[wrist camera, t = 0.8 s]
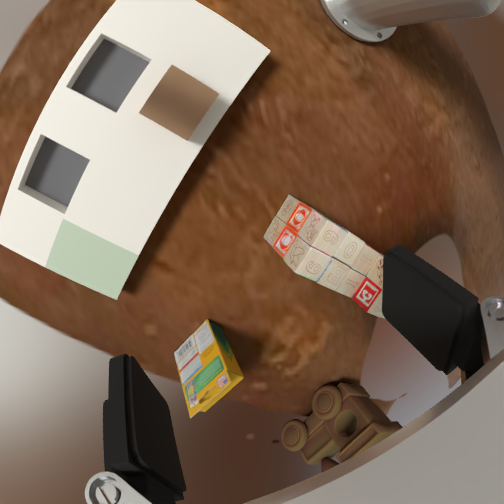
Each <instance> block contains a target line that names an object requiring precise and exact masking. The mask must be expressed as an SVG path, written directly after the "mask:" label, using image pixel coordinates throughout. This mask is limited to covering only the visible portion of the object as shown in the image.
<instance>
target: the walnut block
mask: <svg viewBox="0 0 504 504" xmlns="http://www.w3.org/2000/svg"><path fill="white" fill-rule="evenodd" d="M218 95H219V93H217V92H216V91H214V90H213V89H211V88H210V87H208V86H207V85H205V84H203V83H202V82H200V81H199V80H197V79H195V78H194V77H192V76H191V75H189V74H187V73H186V72H184V71H182V70H181V69H179V68H177V67H176V66H174V65H171V66H170V68H169V69H168V70H167V72H166V73H165V74H164V76H163V77H162V79H161V80H160V82H159V83H158V84H157V86H156V87H155V89H154V90H153V92H152V93H151V95H150V96H149V98H148V99H147V101H146V102H145V104H144V105H143V107H142V109H141V110H140V112H139V114H141V115H143V116H145V117H147V118H148V119H150V120H152V121H154V122H155V123H157V124H159V125H161V126H162V127H164V128H166V129H168V130H169V131H171V132H173V133H174V134H176V135H178V136H180V137H181V138H183V139H185V140H187V141H188V140H189V138H190V136H191V135H192V133H193V132H194V130H195V129H196V127H197V126H198V124H199V123H200V121H201V120H202V118H203V117H204V115H205V114H206V112H207V111H208V110H209V108H210V107H211V105H212V104H213V102H214V101H215V99H216V98H217V97H218Z"/></svg>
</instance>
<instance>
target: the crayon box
mask: <svg viewBox="0 0 504 504" xmlns="http://www.w3.org/2000/svg"><path fill="white" fill-rule="evenodd" d="M174 354H175V359H176V363H177V367H178V371H179V375H180V379H181V383H182V387H183V391H184V395H185V399H186V403H187V407H188V411H189V415H190V418H192V417H193V416H194V415H195V414H196V413H197V412H199V411H203V412H205V411H207V410H208V409H209V408H210V407H211V406H212V405H214V404H215V403H216V402H217V401H218V400H219V399H220V398H222V397H223V396H224V395H225V394H226V393H227V392H228V391H230V390H231V389H232V388H233V387H234V386H235V385H236V384H237V383H239V382H240V381H241V380H242V379H243V378H244V376H243V374H242V372H241V369H240V367H239V365H238V363H237V361H236V359H235V357H234V354H233V352H232V350H231V348H230V346H229V343H228V341H227V339H226V336H225V334H224V331H223V329H222V327H220V326H218V325H217V324H215V323H213V322H212V321H210V320H208V319H206V320H205V321H204V323H203V324H202V325H201V326H200V327H199V328H198V329H197V330H196V331H195V332H194V333H193V334H192V335H191V336H190V337H189V338H188V339H187V340H186V341H185V342H184V343H183V344H182V345H181V347H179V349H178V350H176V351H175V353H174Z"/></svg>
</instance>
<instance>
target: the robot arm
mask: <svg viewBox="0 0 504 504" xmlns="http://www.w3.org/2000/svg"><path fill="white" fill-rule="evenodd" d="M320 1H321V3H322V6H323V8H324V9H325V11H326V13H327V15H328V16H329V17H330V19H331V20H332V21H333V22H334V23H335V24H336V25H337V26H338V27H339V28H340V29H341V30H342V31H344V32H345V33H346V34H348V35H349V36H351V37H353V38H355V39H358V40H360V41H364V42H378V41H383V40H385V39H387V38H389V37H390V36H391V35H392V34H393V33H394V31H395V30H396V28H397V26H403V25H409V24H415V23H422V22H430V21H439V20H449V19H459V18H472V17H473V18H474V17H483V16H486V15H488V14H490V13H492V12H493V11H494V10H495V9H496V8H497V7H498V5H499V4H500V2H501V1H502V0H320ZM478 299H479V298H477V297H476V296H475V295H473V294H472V293H471V292H469V291H468V290H466V289H465V288H464V287H462V286H461V285H459V284H458V283H457V282H455V281H454V280H452V279H451V278H449V277H448V276H447V275H445V274H444V273H442V272H441V271H439V270H438V269H436V268H435V267H433V266H432V265H430V264H429V263H427V262H426V261H424V260H423V259H421V258H420V257H418V256H417V255H415V254H414V253H412V252H411V251H409V250H408V249H406V248H405V247H403V246H401V245H398V246H396V247H394V248H391V249H389V250H387V251H386V253H385V256H384V257H383V290H382V314H383V316H384V317H385V319H386V320H387V321H388V322H389V323H391V324H392V325H393V326H394V327H395V328H396V329H397V330H398V331H399V332H400V333H401V334H402V335H403V336H404V337H405V338H406V339H407V340H408V341H409V342H410V343H411V344H412V345H413V346H414V347H415V348H416V349H417V350H418V351H419V352H420V353H421V354H422V355H423V356H424V357H425V358H426V359H427V360H428V361H429V362H430V363H431V364H432V365H433V366H434V367H435V368H436V369H437V370H439V371H443V372H444V373H445V374H446V375H448V374H449V373H450V372H451V371H453V370H454V369H455V368H456V367H457V366H458V367H459V368H460V369H461V382H462V384H461V385H460V386H459V387H458V388H457V389H455V390H454V391H453V392H452V393H450V394H449V395H448V396H447V397H445V398H444V399H443V400H441V401H440V402H439V403H437V404H436V405H435V406H433V407H432V408H430V409H429V410H428V411H426V412H425V413H424V414H422V415H421V416H420V417H418V418H416V419H415V420H413V421H412V422H410V423H409V424H408V425H406V426H404V427H403V428H401V429H400V430H398V431H397V432H395V433H394V434H392V435H390V436H389V437H387V438H386V439H384V440H382V441H381V442H379V443H377V444H375V445H374V446H372V447H370V448H369V449H367V450H365V451H363V452H361V453H360V454H358V455H356V456H354V457H352V458H350V459H348V460H346V461H345V462H343V463H341V464H339V465H337V466H335V467H333V468H331V469H328V470H326V471H324V472H322V473H320V474H318V475H316V476H313V477H311V478H309V479H307V480H304V481H302V482H300V483H297V484H295V485H293V486H290V487H288V488H285V489H283V490H280V491H277V492H275V493H272V494H269V495H267V496H264V497H261V498H258V499H255V500H252V501H249V502H246V503H243V504H504V298H502V297H499V296H490V297H487V298H485V299H484V300H483V301H482V303H481V305H480V304H479V303H478ZM103 440H104V441H103V442H104V464H105V472H100V473H98V474H96V475H94V476H93V477H92V478H91V479H90V480H89V481H88V483H87V485H86V488H85V498H86V501H87V503H88V504H176V503H175V501H178V500H183V499H184V496H183V493H182V492H184V491H186V485H185V481H184V477H183V473H182V468H181V464H180V460H179V455H178V451H177V446H176V442H175V437H174V432H173V427H172V421H171V416H170V411H169V407H168V404H167V402H166V401H165V399H164V398H163V397H162V395H161V394H160V393H159V391H158V390H157V389H156V387H155V386H154V385H153V383H152V382H151V381H150V379H149V378H148V376H147V375H146V374H145V372H144V371H143V369H142V368H141V367H140V365H139V364H138V362H137V361H136V359H135V358H134V357H133V356H131V357H129V356H128V355H127V354H123V355H120V356H117V357H113V358H111V359H110V361H109V399H108V400H105V402H104V404H103Z"/></svg>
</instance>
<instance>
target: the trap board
mask: <svg viewBox="0 0 504 504" xmlns="http://www.w3.org/2000/svg"><path fill="white" fill-rule="evenodd" d="M269 52H270V50H269V49H268V48H266V47H265V46H263V45H262V44H261V43H259V42H258V41H257V40H255V39H254V38H252V37H251V36H250V35H248V34H247V33H245V32H244V31H242V30H241V29H239V28H238V27H236V26H235V25H233V24H232V23H230V22H229V21H227V20H226V19H224V18H223V17H221V16H220V15H218V14H216V13H215V12H213V11H212V10H210V9H208V8H207V7H205V6H203V5H202V4H200V3H198V2H197V1H195V0H116V2H115V3H114V4H113V5H112V6H111V8H110V9H109V10H108V11H107V13H106V14H105V15H104V16H103V18H102V19H101V20H100V21H99V23H98V24H97V25H96V27H95V28H94V29H93V31H92V32H91V33H90V35H89V36H88V37H87V39H86V40H85V42H84V43H83V45H82V46H81V47H80V49H79V50H78V52H77V53H76V55H75V56H74V58H73V59H72V61H71V62H70V64H69V66H68V67H67V69H66V70H65V72H64V74H63V75H62V77H61V79H60V80H59V82H58V84H57V85H56V87H55V89H54V91H53V92H52V94H51V96H50V98H49V100H48V102H47V103H46V105H45V107H44V109H43V111H42V113H41V115H40V117H39V119H38V121H37V123H36V125H35V127H34V129H33V131H32V134H31V136H30V138H29V140H28V142H27V145H26V147H25V149H24V152H23V154H22V156H21V159H20V161H19V164H18V166H17V169H16V171H15V174H14V177H13V180H12V182H11V185H10V188H9V191H8V194H7V197H6V200H5V203H4V206H3V209H2V213H1V216H0V244H2V245H3V246H5V247H7V248H9V249H11V250H13V251H15V252H16V253H18V254H20V255H22V256H24V257H26V258H28V259H30V260H32V261H34V262H36V263H38V264H40V265H42V266H44V267H46V268H48V269H50V270H52V271H54V272H56V273H58V274H60V275H62V276H64V277H67V278H69V279H71V280H73V281H75V282H77V283H79V284H82V285H84V286H86V287H88V288H91V289H93V290H95V291H97V292H100V293H102V294H104V295H107V296H109V297H111V298H114V299H116V300H117V298H118V296H119V294H120V292H121V290H122V288H123V286H124V284H125V282H126V280H127V278H128V276H129V274H130V272H131V270H132V268H133V266H134V264H135V262H136V260H137V258H138V256H139V254H140V252H141V250H142V249H143V247H144V245H145V243H146V241H147V239H148V237H149V236H150V234H151V232H152V230H153V228H154V227H155V225H156V223H157V221H158V219H159V218H160V216H161V214H162V212H163V211H164V209H165V207H166V205H167V204H168V202H169V200H170V199H171V197H172V195H173V193H174V192H175V190H176V188H177V187H178V185H179V183H180V182H181V180H182V178H183V177H184V175H185V174H186V172H187V170H188V169H189V167H190V165H191V164H192V162H193V161H194V159H195V158H196V156H197V154H198V153H199V151H200V150H201V148H202V147H203V145H204V144H205V142H206V140H207V139H208V137H209V136H210V134H211V133H212V131H213V130H214V128H215V127H216V125H217V124H218V122H219V121H220V120H221V118H222V117H223V115H224V114H225V112H226V111H227V109H228V108H229V106H230V105H231V104H232V102H233V101H234V99H235V98H236V97H237V95H238V94H239V92H240V91H241V90H242V88H243V87H244V86H245V84H246V83H247V81H248V80H249V79H250V77H251V76H252V75H253V73H254V72H255V71H256V69H257V68H258V67H259V65H260V64H261V63H262V61H263V60H264V59H265V58H266V56H267V55H268V54H269ZM171 65H174V66H176V67H177V68H179V69H181V70H182V71H184V72H186V73H187V74H189V75H191V76H192V77H194V78H195V79H197V80H199V81H200V82H202V83H203V84H205V85H207V86H208V87H210V88H211V89H213V90H214V91H216V92H217V93H219V95H218V97H217V98H216V99H215V101H214V102H213V104H212V105H211V107H210V108H209V110H208V111H207V112H206V114H205V115H204V117H203V118H202V120H201V121H200V123H199V124H198V126H197V127H196V129H195V130H194V132H193V133H192V135H191V136H190V138H189V140H188V141H187V140H185V139H183V138H181V137H180V136H178V135H176V134H174V133H173V132H171V131H169V130H168V129H166V128H164V127H162V126H161V125H159V124H157V123H155V122H154V121H152V120H150V119H148V118H147V117H145V116H143V115H141V114H139V112H140V110H141V109H142V107H143V105H144V104H145V102H146V101H147V99H148V98H149V96H150V95H151V93H152V92H153V90H154V89H155V87H156V86H157V84H158V83H159V82H160V80H161V79H162V77H163V76H164V74H165V73H166V72H167V70H168V69H169V68H170V66H171Z"/></svg>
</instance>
